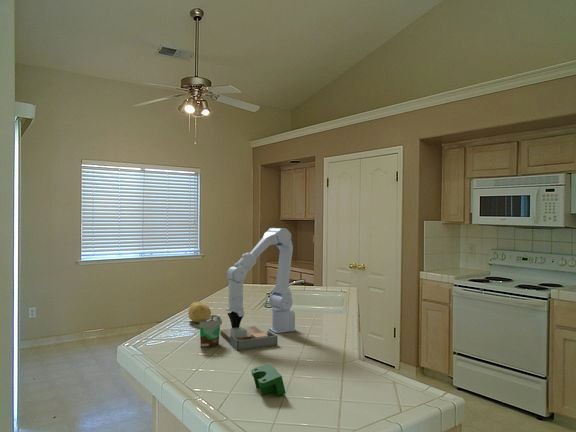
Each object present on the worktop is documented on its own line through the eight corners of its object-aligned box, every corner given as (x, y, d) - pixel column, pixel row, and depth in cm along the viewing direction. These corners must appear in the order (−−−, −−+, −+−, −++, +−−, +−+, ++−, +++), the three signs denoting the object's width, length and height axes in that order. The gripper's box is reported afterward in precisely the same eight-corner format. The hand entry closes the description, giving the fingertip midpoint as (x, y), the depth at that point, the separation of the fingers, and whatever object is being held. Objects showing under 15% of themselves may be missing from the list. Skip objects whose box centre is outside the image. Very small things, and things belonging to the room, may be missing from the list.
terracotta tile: (263, 338, 167) (263, 332, 167) (268, 342, 162) (268, 335, 162) (251, 340, 165) (251, 333, 165) (256, 343, 160) (256, 337, 160)
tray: (268, 339, 168) (268, 330, 168) (277, 345, 160) (277, 336, 160) (230, 344, 161) (230, 335, 161) (237, 350, 153) (237, 341, 153)
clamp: (258, 401, 122) (249, 369, 124) (278, 393, 124) (267, 362, 126) (266, 402, 111) (255, 367, 114) (287, 393, 113) (276, 359, 116)
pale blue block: (242, 333, 169) (242, 327, 169) (246, 336, 165) (246, 330, 165) (230, 334, 167) (230, 328, 167) (234, 338, 163) (234, 331, 163)
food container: (214, 350, 154) (215, 323, 154) (198, 349, 155) (199, 322, 155) (226, 340, 166) (226, 315, 166) (211, 339, 167) (211, 314, 167)
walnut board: (254, 330, 180) (254, 326, 180) (267, 339, 168) (267, 334, 168) (220, 334, 174) (220, 329, 174) (231, 344, 161) (231, 338, 161)
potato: (188, 326, 186) (188, 305, 186) (188, 318, 200) (188, 298, 200) (211, 325, 188) (211, 304, 188) (210, 318, 202) (210, 298, 202)
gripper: (220, 294, 174) (220, 327, 174) (232, 300, 161) (231, 336, 161) (237, 293, 177) (236, 325, 177) (249, 299, 164) (249, 334, 164)
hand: (235, 330), depth 169 cm, fingers closed
